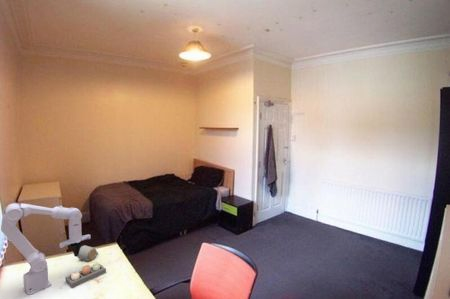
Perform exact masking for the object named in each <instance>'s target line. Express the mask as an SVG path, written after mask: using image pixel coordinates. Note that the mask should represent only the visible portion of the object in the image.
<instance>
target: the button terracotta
mask: <svg viewBox="0 0 450 299" xmlns="http://www.w3.org/2000/svg"><path fill="white" fill-rule="evenodd" d="M90 267H91V266H90V265H87V264H85V265H84V266H82V268H81V271H82V275H83V276H86V275H88V274H90Z"/></svg>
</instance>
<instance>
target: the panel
mask: <svg viewBox="0 0 450 299" xmlns="http://www.w3.org/2000/svg"><path fill="white" fill-rule="evenodd" d="M78 272H79V274H80V278H79V279H76V280H74V281H72V280H71V275H72V274H70V275H68V276H66V277H65V283H66V284H67V285H68V286H69V287H70V288H71V289H73V288H75V287H78V286H80V285H82V284H84V283H87V282H90V281H91V280H93V279H95V278H98V277H100V276H103V275H105V274H107V269H106V267H104V266H103V265H102V264H100V270H97V271H95V272H93V265H92V266H90V274H88V275H86V276H83V275H82V270H80V271H78Z"/></svg>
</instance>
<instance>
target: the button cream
mask: <svg viewBox="0 0 450 299" xmlns="http://www.w3.org/2000/svg"><path fill="white" fill-rule="evenodd" d="M79 272H80V271H76V272H73V273H72V274H70V275H71V280H72V281H74V280H76V279H79V278H80V274H79Z"/></svg>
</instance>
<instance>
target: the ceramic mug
mask: <svg viewBox="0 0 450 299" xmlns="http://www.w3.org/2000/svg"><path fill="white" fill-rule="evenodd" d="M98 253H99V252H98V251H97V248H95V247H92V246H88V245H85V244H84V245H82V246H81V248H80V251H79V255H78V256H76V258H78V259H79V260H82V261H83V260H85V261H93V260H94V259H95V258H96V256H98Z"/></svg>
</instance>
